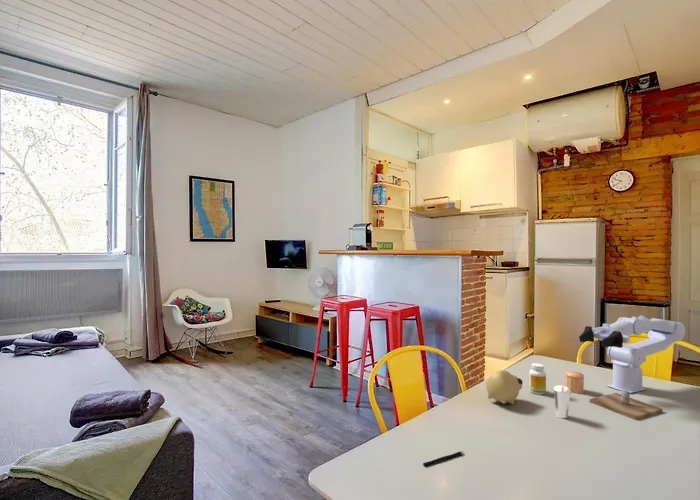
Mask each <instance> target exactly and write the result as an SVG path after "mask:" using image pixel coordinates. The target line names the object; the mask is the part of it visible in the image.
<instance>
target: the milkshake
mask: <svg viewBox="0 0 700 500" xmlns="http://www.w3.org/2000/svg"><path fill="white" fill-rule="evenodd" d="M553 395H554V401H555V402H554V406H555V408H554V409H555V416H556V417H557V418H560V419H567V418H569V408H570V401H571V395H572V392H571V390H570V389H569V388H568V387H566V386H565V385H558V384H557V385H555V386H554V387H553Z"/></svg>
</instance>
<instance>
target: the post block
mask: <svg viewBox="0 0 700 500" xmlns="http://www.w3.org/2000/svg"><path fill="white" fill-rule="evenodd" d="M620 392H621V393H618V392H614V393H610V394H606V395H601V396H597V397H596V396H595V397H593V398H589V403H592V404H594V405H597V406H600V407H602V408H604V409H607V410H609V411H612V412H613V413H614V412H615V413H617V414H619V415H622V416H625V417H628V418H630V419H633V420H640V419H642V418H647V417H649V416H653V415H657V414H661V413H663V408H661V407H658V406H655V405H652V404H649V403H646V402H644V401H641V400H638V399H634V398H632V397H630V394H631V393H630V392H629V391H625V390H621V391H620Z"/></svg>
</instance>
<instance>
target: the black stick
mask: <svg viewBox="0 0 700 500" xmlns="http://www.w3.org/2000/svg"><path fill="white" fill-rule="evenodd" d="M464 454H465V451H463V450H461V451H457V452H454V453H452V454H447V455H444V456H441V457H438V458H435V459H433V460H430V461H429V460H428V461H426V462H423V463H422V466H423V467H424V468H427V467H430V466H433V465H435V464H437V463H442V462H445V461H449V460H451V459H455V458H457V457H460V456H463V455H464Z"/></svg>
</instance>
